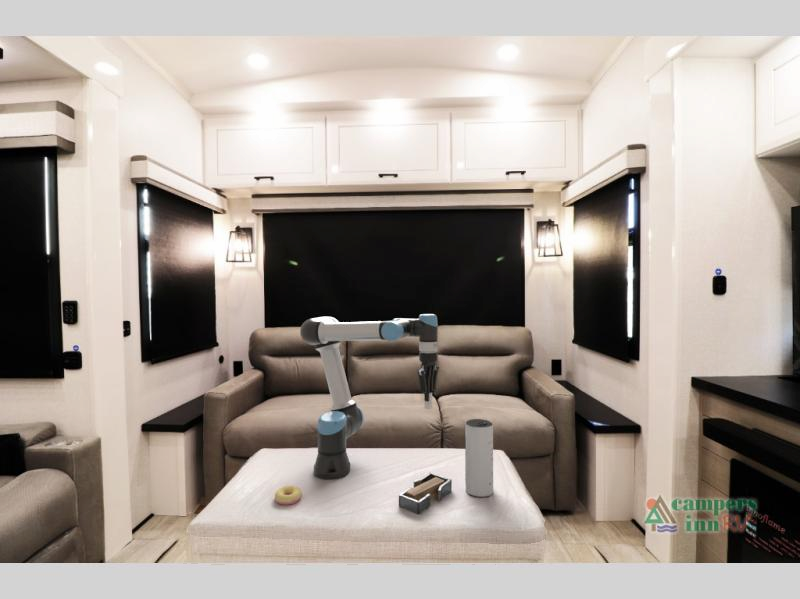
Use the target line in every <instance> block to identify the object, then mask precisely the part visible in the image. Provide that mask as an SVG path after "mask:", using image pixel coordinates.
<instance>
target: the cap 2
mask: <svg viewBox="0 0 800 599" xmlns="http://www.w3.org/2000/svg"><path fill="white" fill-rule="evenodd" d="M435 477H437V478H440V479H442V480H444V483H443V484H442V485H441V486H440V487H439V490H438V497H437V498H438V499H437V500H438V502H441V500H442V499H443V497H444V496H446V495H447V494H449V493H450V492H451V491H452V489H453V488H452V485H453V484H452V483H453V482H452V478H448V477H445V476H442V475H439V474H436V473H433V472H428V473H427V474H426V475H424V476H423V477H421V478H419V479H416V480H413V488H414V487H416V486H419V485H421V484H423V483H425V482H427V481H429V480H431V479H433V478H435Z"/></svg>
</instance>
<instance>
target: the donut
mask: <svg viewBox="0 0 800 599" xmlns="http://www.w3.org/2000/svg"><path fill="white" fill-rule="evenodd" d="M302 494H303V493H302V490H301V489H300V487H298V486H296V485H295V486H294V485H286V486H282V487H280V488H278V489H277V490H276V492H275V493H274V500H275V502H276V503H277V504H279V505H281V506H283V505H284V506H290V505H294V504H296V503H297V502H299V501H300V500H301V498H302Z"/></svg>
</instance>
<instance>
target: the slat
mask: <svg viewBox="0 0 800 599" xmlns="http://www.w3.org/2000/svg"><path fill="white" fill-rule="evenodd" d="M443 483H444V480H442V479H440V478H437V477H435V478H433V479H431V480H429V481H427V482H425V483H423V484H421V485H419V486H416V487H414V486H413V487H412V489H410V490H408V491H406V496H407V497H409V498H412V499H415V500H417V501H419V500H421V499H422V498H423V497H425V496H426V495H427V494H430V502H431V501H432V500H434V499H437V498H438V490H439V487H440V486H441V485H442V484H443Z"/></svg>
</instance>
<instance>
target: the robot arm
mask: <svg viewBox="0 0 800 599" xmlns="http://www.w3.org/2000/svg"><path fill="white" fill-rule="evenodd" d="M438 327H439V324H438V317H437V315H436V314H434V313H422V314H419V316H418V318H405V317H404V318H402V317H398V318H397V317H396V318H393V319H392V320H383V321H381V320H378V321H376V320H375V321H351V322H349V321H348V322H347V321H346V322H344V321H343V322H340V321H339V320H338V319H336V318H335V317H332V316H319V317H313V318H312V317H311V318H309V319H306V320H305V321H304V322H303V323H302V324H301V326H300V330H299V331H300V332H299V333H300V337H301V339H302V341H303V342H305V344H308V345H310V346H314V349H315V350H316V351H317V352H319V354H320V358H321V362H322V366H323V371H324V374H325V375H324V376H325V379H326V383H327V386H328V390H329V394H330V398H331V402H332V405H331V407H330V411H329V412H325V413H323V414H321V415H320V416H319V418H318V419H317V424H316V425H317V426H316V427H317V428H316V430H317V456H316V459H315V463H314V464H313V474H314V476H315V477H317V478H318V479H319V478H320V479H323V480H335V479H336V480H337V479H340V478H344V477H345V476H347V475H348V474H349V473H351V462H350V459H349V456H348V453H347V439H348V438H350V437H351V436H352V435H354V434H356V433H358V432H359V431H360V429H361V428H362V426H363V424H364V421H365V416H364V412H363V411H362V408H360V407H359V406H358V405H357V401H356V400H354V399H352V396H351V392H350V388H349V387H350V386H349V382H348V380H347V376H346V372H345V366H344V363H343V360H342V356H341V352H340V345H341V343H342V342H350V341H352V342H353V341H355V342H357V341H388V342H396V341H398V340H400V339H405V338H407V337H409V338H410V337H411V338H412V337H413V338H419V340H418V347H419V348H418V350H419V353H418V356H419V357H418V358H419V362H421V365H420V369H419V370H417V371H416V372H417V375H418V379H419V387H420V392H421V393H422V394H423V395H424V396H423V397H424V398H423V399H424V409H428V410H433V394H434V393H435V391H436V389H437V388H436V387H437V381H438V380H437V379H438V372H439V369H440V367H439V366H437V364H436V362H438V358H439V356H438V354H439V353H438V352H437V351H438V346H439V344H438V329H439V328H438Z"/></svg>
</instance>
